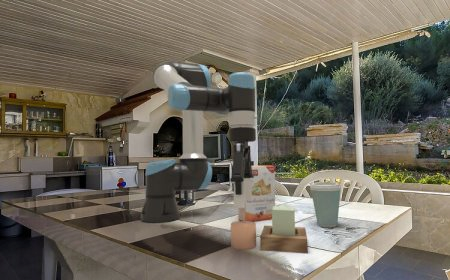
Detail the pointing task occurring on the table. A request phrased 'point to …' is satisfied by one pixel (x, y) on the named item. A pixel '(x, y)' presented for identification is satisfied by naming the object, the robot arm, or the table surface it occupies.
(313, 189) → the disposable coffee cup
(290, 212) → the sage block
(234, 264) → the table surface
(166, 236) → the table surface
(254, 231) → the peach block
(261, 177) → the cracker box
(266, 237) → the walnut base
